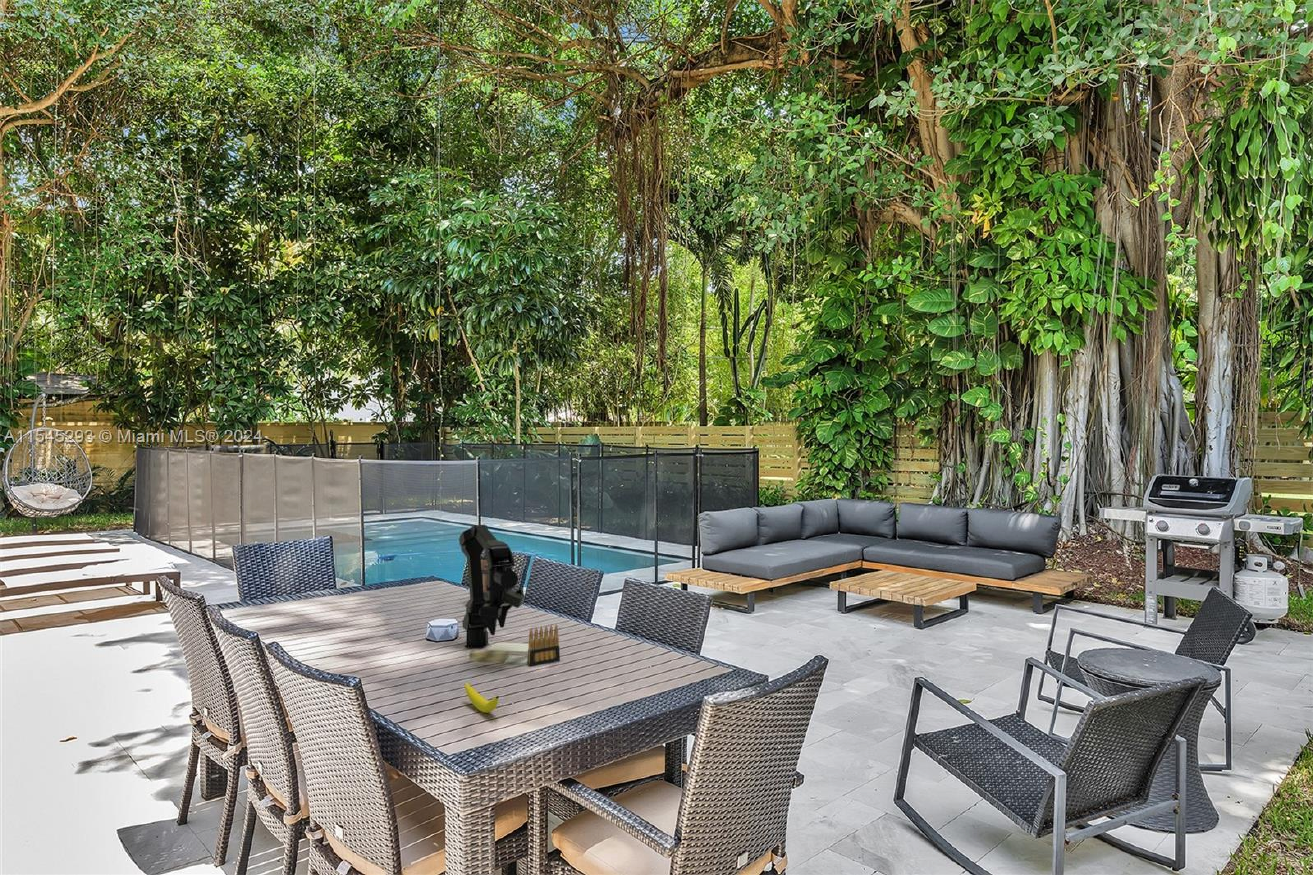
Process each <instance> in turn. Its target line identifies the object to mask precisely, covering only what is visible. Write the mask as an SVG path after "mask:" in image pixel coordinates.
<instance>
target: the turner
mask: <svg viewBox="0 0 1313 875" xmlns="http://www.w3.org/2000/svg"><path fill="white" fill-rule="evenodd" d="M488 650H489V649H487V650H483V649H481V650H480V649H471V651H470V652H469V662H470V661H474V663H476V662H477V663H493V664H494V663H495V664H499V663H500V664H504V665H507V666H508V665H511V666H527V660H528V656H521V655H517V656H516V655H514V656H513V655H510V654H509V651H488ZM509 655H510V656H509Z"/></svg>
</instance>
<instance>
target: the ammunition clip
mask: <svg viewBox="0 0 1313 875" xmlns="http://www.w3.org/2000/svg"><path fill="white" fill-rule="evenodd" d="M538 630H539V631H538ZM533 631H534V632H533ZM528 634H529V636H528V644H529V649H528V655H527V657H528V660H527V664H526V666H529V667H531V668H532V667H535V666H540V665H547V664H551V663H556V662H560V661H561V656H560V645H559V644H560V642H559V641H560V640H559V628H558V624H557V623H556V624H555V625H554V627H553V625H552V624H551V625H550V627H549V630H548V626H547V625H545V627H544V630H543V626H540V628H539V629H538V627H537V626H535V629H534V630H533V628H532V627H531V628H530V629H529V633H528Z"/></svg>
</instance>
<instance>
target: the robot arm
mask: <svg viewBox="0 0 1313 875" xmlns="http://www.w3.org/2000/svg"><path fill="white" fill-rule="evenodd" d="M458 541H459V546H460V547H461V548H460V550H461V552H462V553H463V555H464V556H465V558H466V562H467V563H466V564H467V575H468V587H469V588H468V589H469V600H470V601H469V600H468V601H469V604H468V606H467V607H465V609H466V610H465V614H464V616H463V619H462V622H461V623H462V624H461V625H462V628H463V629H464V630H465V632H466V633H465V634H466V636H465V637H466V639H465V640H466V641H465V642H466V644H465V645H464V648H468V647H469V648H470V649H473V648H474V649H475V648H476V649H483V648H484V647H486V646H487V645H488V644H489V633H490V635H491V636H495V635H496V629H497V622H498V625H499V628H505V624H506V620H507V615H508V613H509V610H511V608H512V607H514V608H517V609H518V608H520V607H521V606H522V605H523V603H524V601H525V599H526V598H525V597H526V595H525V593H524V589H521V588H518V589H517V590H516V591H515V590H511V589H513V588H515V586H516V585H517V584H518V581H519V580H518V579H519V577H518V574H517V573H516V572H515V571H513V567H514V566H515V558H514V555H513V552H512V550H511V547H510V546H509V545H508V544H507V543H506V542H505V541H502V540H498V539H497V538H496V537H495V535H494V534H493V533H492V532H491V531H490V530H489V527H488V525H486V524H474V525H471V527H470V528H468V529H466V530H464V531H462V533H461V534H460V536H459V538H458ZM483 551H484V557H485V558H486V561H487V563H488V567H489V586H488V587H487V591H489V599H488V600H487V601H486V600H485V598H484V591H483V579H482V567H481V557H482V554H483ZM489 603H491V604H489Z"/></svg>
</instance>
